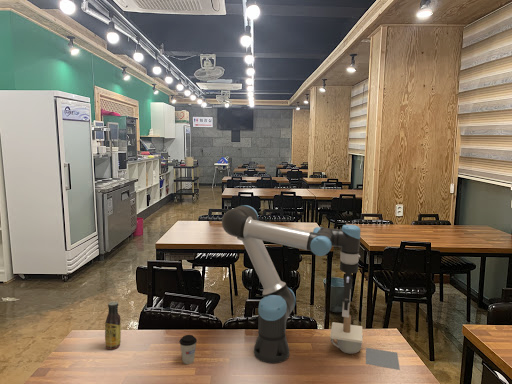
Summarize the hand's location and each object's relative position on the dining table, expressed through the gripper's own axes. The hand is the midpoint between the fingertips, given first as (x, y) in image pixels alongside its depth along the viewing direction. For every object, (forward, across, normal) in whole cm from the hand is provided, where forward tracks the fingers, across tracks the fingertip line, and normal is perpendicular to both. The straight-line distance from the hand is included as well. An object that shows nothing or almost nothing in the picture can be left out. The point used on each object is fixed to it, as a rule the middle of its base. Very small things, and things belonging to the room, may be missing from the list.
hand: (346, 309), depth 157 cm
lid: (+10, 0, -1) cm, 11 cm away
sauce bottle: (+20, -28, +96) cm, 102 cm away
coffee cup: (+20, -28, +60) cm, 69 cm away
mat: (+18, -2, -16) cm, 24 cm away
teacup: (+19, 0, -1) cm, 19 cm away
